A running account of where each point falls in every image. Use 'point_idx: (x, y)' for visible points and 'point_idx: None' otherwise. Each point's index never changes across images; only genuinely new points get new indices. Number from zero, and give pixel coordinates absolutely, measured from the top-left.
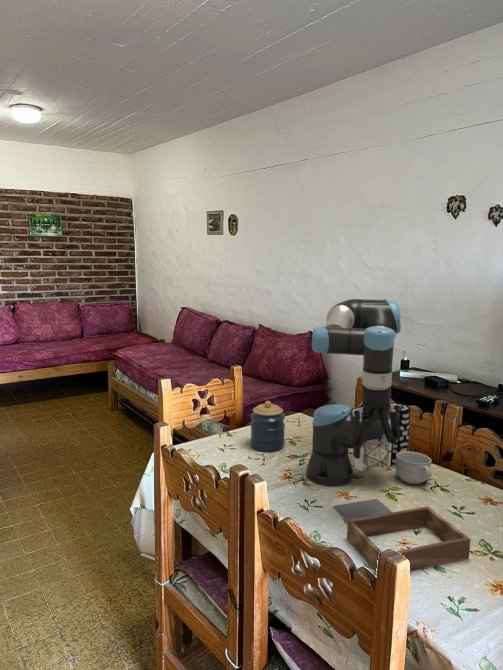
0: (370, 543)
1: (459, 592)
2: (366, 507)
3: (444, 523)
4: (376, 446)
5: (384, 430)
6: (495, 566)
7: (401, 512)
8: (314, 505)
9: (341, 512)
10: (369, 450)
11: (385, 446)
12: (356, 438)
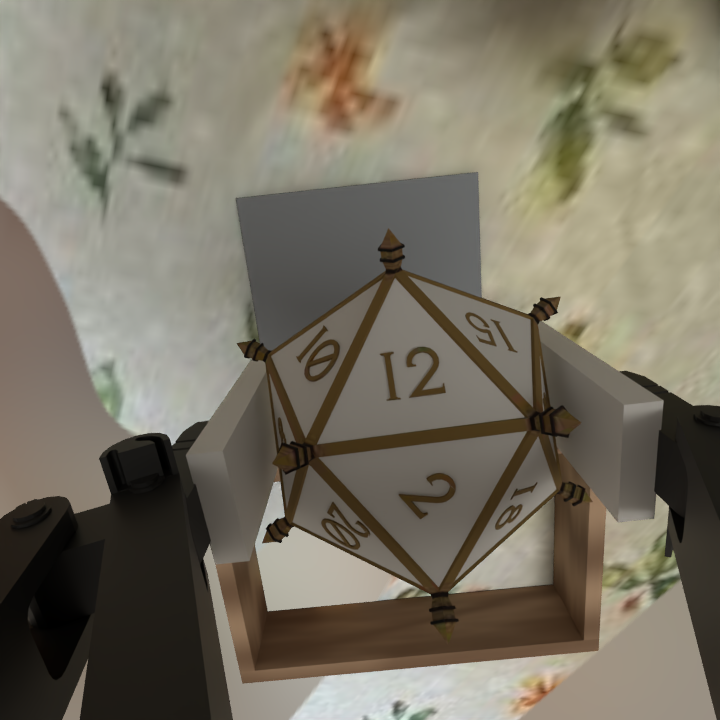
0: (231, 620)
1: (435, 696)
2: None
3: (585, 548)
4: (410, 579)
5: (713, 562)
6: (611, 633)
7: None
8: (146, 156)
9: (251, 268)
10: (328, 535)
11: (588, 423)
12: (68, 698)
